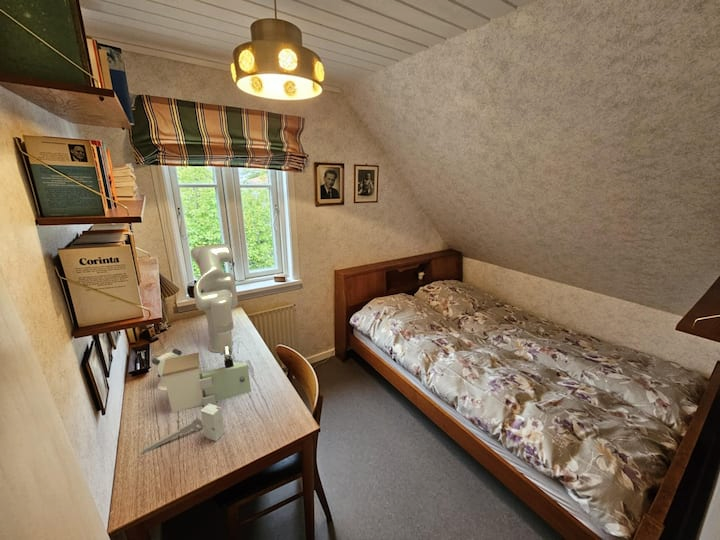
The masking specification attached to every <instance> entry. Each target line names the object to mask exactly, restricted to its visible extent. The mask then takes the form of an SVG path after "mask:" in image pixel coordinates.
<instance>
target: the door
mask: <svg viewBox="0 0 720 540" xmlns="http://www.w3.org/2000/svg"><path fill="white" fill-rule="evenodd" d="M233 365H234V366H233V367H230V368H225V366H223V367H218V368H215V369H209V371H208V370H204V371H205V372H203V371H201V372H202V378H203V379H205V378H209V377H211V378H212V383H213V386H212V387H208V388H205V394H206V397H207V396H211V395H215V400H216V402H219V401H221V400H226V399H229V398H232V397H236V396H239V395H244V394H247V393H250V392H251V393H252V387H251V386H252V385H251V380H250V373H249V365H248V361H244V362H239V363H235V364H234V363H233Z"/></svg>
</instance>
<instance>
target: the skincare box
mask: <svg viewBox="0 0 720 540" xmlns="http://www.w3.org/2000/svg"><path fill="white" fill-rule="evenodd" d="M222 410H223V409H222V407H221V406H218V405H216V404H213V405H212V404H210V403H209V404H208V405H207V406H205V407H204V406H203V408H202V409H201V410H200V414H201V421H202V424H203V429H202V430H203V433H204V434H203V435H204V437H205V438H207V439H209V440H211V441H215V442H217V441H218V440H219V439H220V438H221V437H222V436H223V435H224V434H225V429H224V428H225V427H224V420H223V412H222Z"/></svg>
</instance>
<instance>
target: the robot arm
mask: <svg viewBox="0 0 720 540" xmlns="http://www.w3.org/2000/svg"><path fill="white" fill-rule="evenodd" d="M190 255H191V258H192V259H193V261H194V262H195V264H196V265H197V266H198V269H199V273H200V274H199V275H200V276H199V277H198V278H197V280H196V282H195V284H194V287H193V294H194V301H195V307H196V309H198V311H200V312H205V316H206V317H205V318H206V321H207V327H208V332H209V338H210V344H209V345H208V351H210V352H212V353H219V354H220V356H222V355H223V358H224V360H223V362H224V367H225V368H230V367H233V366H234V359H233V357H232V355H233V351H234V350H233V348H234V347H233V346H234V341H233V336H232V330H233V329H234V328H235V327H234V320H233V311H232V309H234V308H236V307H238V305H239V301H238V300H239V299H238V292H237V287H236V285H237V284H236V280H235V276H234V275H233V273H230V272H223V268H222V263H229V262H232V261H233V257H234V256H233V250H232V249H231V247H230V245H229V244H227V243H217V244H207V245H200V246H195V247H193V248H192V249H191V250H190ZM202 291H204V292H202Z"/></svg>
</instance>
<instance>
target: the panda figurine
mask: <svg viewBox="0 0 720 540" xmlns="http://www.w3.org/2000/svg"><path fill="white" fill-rule="evenodd" d="M179 356H182V351H181V350H180V349H177V348H173V349H172V351H169V352H166V353H164V354H161V355H160V356H158V357H157V358H156V357H155V358H152V359H151V363H152V364H153V370H154V372H155V374H157V377H158V378H159V379H160V381H158V383H157V389H158V390H159V391H162V392H167V389H166V384H165V380H164V377H163V376H162V372H163V368H164V364H165V360H166V359H170V358H175V357H179Z"/></svg>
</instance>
